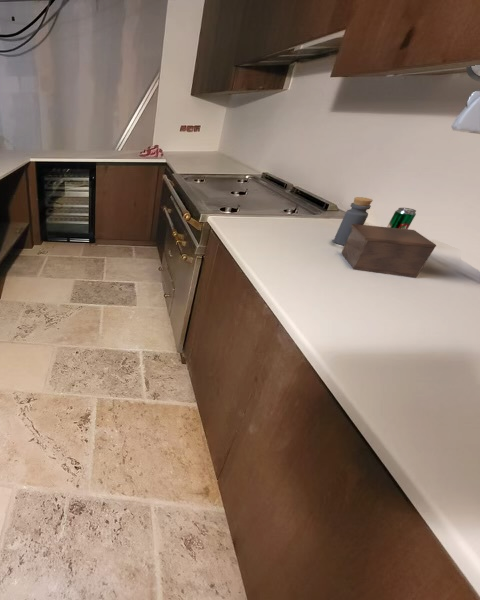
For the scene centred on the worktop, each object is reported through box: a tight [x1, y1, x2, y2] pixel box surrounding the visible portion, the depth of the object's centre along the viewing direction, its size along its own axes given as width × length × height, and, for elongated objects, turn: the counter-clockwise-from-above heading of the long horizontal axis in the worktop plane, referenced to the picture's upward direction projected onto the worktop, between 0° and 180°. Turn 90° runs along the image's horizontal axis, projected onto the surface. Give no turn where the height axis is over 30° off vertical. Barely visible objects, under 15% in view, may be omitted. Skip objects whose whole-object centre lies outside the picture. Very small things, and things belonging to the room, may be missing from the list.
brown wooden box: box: [341, 229, 435, 279], centre depth 94 cm, size 15×13×9 cm
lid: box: [351, 224, 437, 249], centre depth 91 cm, size 15×13×1 cm
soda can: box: [386, 207, 417, 229], centre depth 106 cm, size 5×5×12 cm
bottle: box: [333, 196, 374, 246], centre depth 107 cm, size 6×6×15 cm
